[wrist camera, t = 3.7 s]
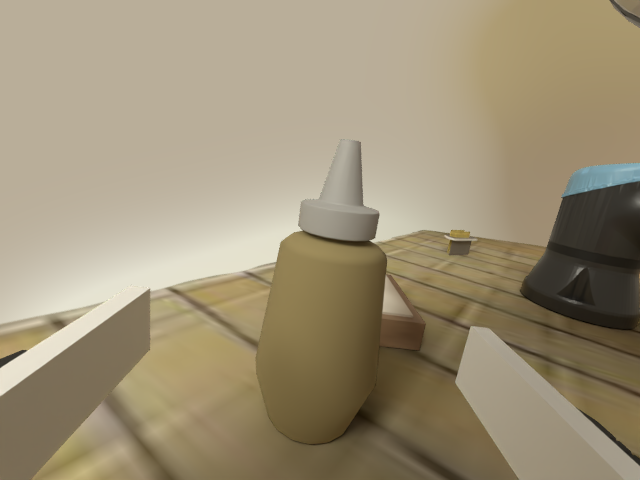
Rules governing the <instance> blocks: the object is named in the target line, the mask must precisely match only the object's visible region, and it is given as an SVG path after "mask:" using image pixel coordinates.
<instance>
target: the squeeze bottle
mask: <svg viewBox="0 0 640 480" xmlns="http://www.w3.org/2000/svg"><path fill="white" fill-rule="evenodd" d="M361 166H362V165H361V142H359V141H354V140H345V139H341V140H340V142H339V145H338V148H337V150H336V153H335V156H334V159H333V161H332V164H331V167H330V170H329V173H328V176H327V178H326V181H325V184H324V187H323V189H322V192H321V195H320V198H319V199H316V200H315V199H312V200H311V199H310V200H303V201H302V202H301V208H300V216H299V224H298V226H299V227H300V228H301V229H302V230H303V231H300V232H294V233H293V234H291V235H290V236H288V237H287V238H285V239H284V240H283V241H282V242H281V244H280V248H279V253H278V257H277V262H276V266H275V271H274V276H273V280H272V285H271V290H270V294H269V299H268V303H267V308H266V313H265V317H264V322H263V326H262V331H261V336H260V340H259V345H258V349H257V354H256V374H257V378H258V381H259V385H260V388H261V392H262V395H263V399H264V402H265V406H266V409H267V413H268V416H269V418H270V420H271V421H272V423H273V424H274V426H275V427H276V429H277V430H278V431H280V432H281V433H283V434H284V435H285V436H287V437H288V438H290V439H291V440H295V441H298V442H302V443H306V444H319V443H328V442H330V441H332V440H334V439H335V438H337V437H339V436H341V435H343V433H344V432H345V430H346V429H347V427H348V426H349V424H350V423H351V421H352V420H353V418H354V417H355V415H356V414H357V412H358V411H359V409H360V408H361V406H362V405H363V403H364V402H365V400H366V399H367V397H368V396H369V394H370V393H371V391H372V390H373V388H374V387H375V385H376V377H377V366H378V355H379V344H380V333H381V322H382V311H383V300H384V289H385V278H386V267H387V258H386V255H385V253H384V252H383V251H382V250H381V248H380V247H379V246H377V245H376V244H374V243H372V242H371V241H369V240H372V239H374V238H375V235H376V230H377V224H378V219H379V212H378V211H377V210H375V209H372V208H369V207H365V206H364V205H363V193H362V192H363V190H362V167H361Z"/></svg>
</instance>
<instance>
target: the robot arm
mask: <svg viewBox="0 0 640 480" xmlns="http://www.w3.org/2000/svg"><path fill="white" fill-rule="evenodd" d="M610 2H611V3H612V5H613V7H614V8H615V9H616V10H617V11H618V12H619V13H620V14H622V15H623V16H624V17H625V18H626V19H627V20H628V21H629V22H631V23H633V24H634V25H636V26H638V27H639V28H640V0H610ZM561 198H563V200H562V203H561V206H560V209H559V212H558V215H557V218H556V221H555V224H554V227H553V230H552V233H551V236H550V239H549V242H548V245H547V248H546V251H545V253H544V255H543V256H542V257H541V259H540V260H539V261H538V262H537V264H536V265H535V266H534V268H533V269H532V271H531V272H530V274H529V275H528V276H526V277H525V279H524V280H523V284H522V287H521V290H520V291H521V293H522V294H523V295H524V296H525V297H527V298H528V299H530V300H532V301H533V302H535V303H537V304H539V305H541V306H543V307H546V308H548V309H550V310H553V311H555V312H558V313H561V314H563V315H566V316H569V317H572V318H575V319H579V320H582V321H585V322H589V323H593V324H597V325H601V326H606V327H612V328H619V329H633V328H635V327H636V326H637V324H638V321H639V319H640V307H639V305H640V284H639V274H640V163H632V164H631V163H628V164H609V165H598V166H590V167H585V168H582V169H579V170H577V171H576V172H574V173H573V174H572V176H571V177H570V179H569V182H568V185H567V187H566V190H565V192H564V194H563V195H562V197H561ZM149 350H150V288H144V287H136V286H129V287H128V288H126V289H125V290H123V291H121V292H120V293H118V294H117V295H115V296H113V297H112V298H110V299H109V300H107V301H106V302H104V303H102V304H101V305H99V306H98V307H96V308H94V309H93V310H91V311H90V312H88V313H87V314H85V315H83V316H82V317H80V318H79V319H77V320H75V321H74V322H72V323H71V324H69V325H68V326H66V327H64V328H63V329H61V330H60V331H58V332H56V333H55V334H53V335H52V336H50V337H49V338H47V339H45V340H44V341H42V342H41V343H39V344H37V345H36V346H34V347H33V348H31V349H30V350H28V351H27V350H21V351H19V352H16V353H14V354H11V355H9V356H6V357H4V358H1V359H0V480H31V479H32V478H33V477H34V475H35V474H36V473H37V472H38V471H39V470H40V469H41V468H42V467H43V466H44V465H45V463H46V462H47V461H48V460H49V459H50V458H51V457H52V456H53V455H54V454H55V452H56V451H57V450H58V449H59V448H60V447H61V446H62V445H63V444H64V443H65V442H66V440H67V439H68V438H69V437H70V436H71V435H72V434H73V433H74V432H75V431H76V430H77V428H78V427H79V426H80V425H81V424H82V423H83V422H84V421H85V420H86V419H87V418H88V416H89V415H90V414H91V413H92V412H93V411H94V410H95V409H96V408H97V407H98V406H99V404H100V403H101V402H102V401H103V400H104V399H105V398H106V397H107V396H108V395H109V394H110V392H111V391H112V390H113V389H114V388H115V387H116V386H117V385H118V384H119V383H120V382H121V380H122V379H123V378H124V377H125V376H126V375H127V374H128V373H129V372H130V371H131V370H132V368H133V367H134V366H135V365H136V364H137V363H138V362H139V361H140V360H141V359H142V357H143V356H144V355H145V354H146V353H147V352H148V351H149ZM455 383H456V385H457V386H458V388H459V389H460V391H461V392H462V394H463V395H464V397H465V398H466V400H467V401H468V403H469V405H470V406H471V408H472V409H473V411H474V412H475V414H476V415H477V417H478V418H479V420H480V421H481V423H482V424H483V426H484V427H485V429H486V430H487V432H488V433H489V435H490V436H491V438H492V439H493V441H494V443H495V444H496V446H497V447H498V449H499V450H500V452H501V453H502V455H503V456H504V458H505V459H506V461H507V462H508V464H509V465H510V467H511V468H512V470H513V471H514V473H515V474H516V476H517V477H518V479H519V480H640V459H639V458H638V457H637V456H635V455H632V454H631V451H630V450H629V449H628V448H626V447H625V446H624V445H623V444H622V443H621V442H620V441H616V438H615V437H614V436H613V435H612V434H611V433H610V432H608V431H607V430H606V429H605V428H604V427H603V426H602V425H601V424H600V423H598V422H597V421H596V420H594V419H593V418H591V417H590V416H588V415H587V414H585V413H584V412H582V411H581V410H579V409H578V408H576V407H574V406H573V405H572V404H571V403H570V402H569V401H568V400H567V399H566V398H565V397H564V396H562V395H561V394H560V393H559V392H558V391H557V390H556V389H555V388H554V387H553V386H551V385H550V384H549V383H548V382H547V381H546V380H545V379H544V378H543V377H542V376H541V375H539V374H538V373H537V372H536V371H535V370H534V369H533V368H532V367H531V366H530V365H528V364H527V363H526V362H525V361H524V360H523V359H522V358H521V357H520V356H519V355H518V354H516V353H515V352H514V351H513V350H512V349H511V348H510V347H509V346H508V345H507V344H505V343H504V342H503V341H502V340H501V339H500V338H499V337H498V336H497V335H496V334H495V333H493V332H492V331H491V330H490V329H489V328H484V327H475V326H471V327H470V331H469V335H468V338H467V342H466V345H465V349H464V353H463V356H462V360H461V363H460V367H459V370H458V374H457V378H456V381H455Z"/></svg>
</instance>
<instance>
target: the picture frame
mask: <svg viewBox="0 0 640 480" xmlns="http://www.w3.org/2000/svg"><path fill="white" fill-rule="evenodd" d="M425 325H426V323H425V322H424V321H423V319H422V318H421V316H420V315H419V314H418V312H417V311H416V309H415V308H414V307H413V305H412V304H411V302H410V301H409V300H408V298H407V297H406V295H405V294H404V293H403V291H402V290H401V288H400V287H399V286H398V284H397V283H396V281H395V280H394V279H393V277H392V276H391V275H387V274H386V278H385V289H384V300H383V311H382V322H381V333H380V344H379V346H384V347H393V348H402V349H410V350H420V346H421V342H422V338H423V333H424V329H425Z"/></svg>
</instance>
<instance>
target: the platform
mask: <svg viewBox="0 0 640 480" xmlns="http://www.w3.org/2000/svg"><path fill="white" fill-rule="evenodd" d="M469 235H470V232H464V230H451V233H450V235H445V237H446V238H448V239H450V243H449V247H448V251H449V250H450V251H449V252H448V251H447V253H449V255H465V254H468V253H469V249H470V245H471V241H477V238H474V237H469Z"/></svg>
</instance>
